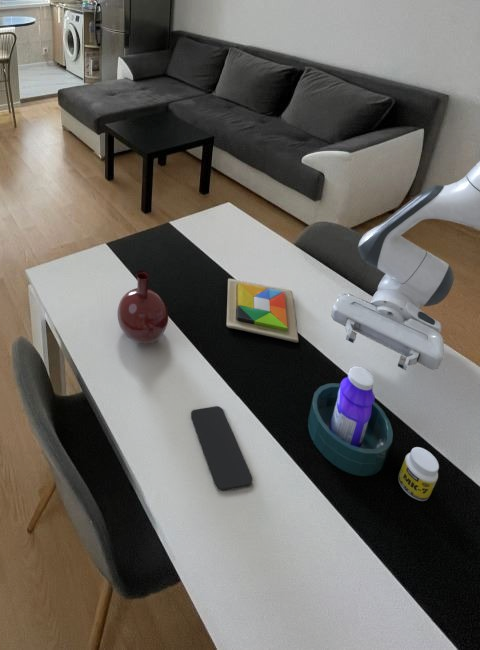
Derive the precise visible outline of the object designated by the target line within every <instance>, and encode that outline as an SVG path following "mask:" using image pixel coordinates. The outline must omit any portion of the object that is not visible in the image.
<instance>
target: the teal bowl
mask: <svg viewBox="0 0 480 650" xmlns="http://www.w3.org/2000/svg"><path fill="white" fill-rule="evenodd" d="M340 385H341V383H334V382H333V383H326V384H324V385H320V386H319V387H318V388H317V389H316V391H314V393H313V397H312V400H311V405H310V409H309V415H308V418H307V428H308V433H309V437H310V438H311V440H312V443H313V444H314V445H315V448H316V449H317V450H318V452H319V453H320V454H321V455H322V456H323V457H324V458H325V459H326V460H327V461H328V462H329V463H331V464H332V465H333V466H335V467H336V468H338V469H339V470H341V471H342V472H346V473H347V474H351V475H353V476H359V477H369V476H370V477H371V476H373V475H374V476H375V475H376V474H377V473H379V472H380V471H381V470H382V469H383V467H384V465H385V464H386V461H387V458H388V455H389V453H390V449H391V446H392V444H393V438H394V437H393V436H394V431H393V428H392V424H391V421H390V420H389V418H388V416H387V415H386V413H385V411H384V409H382V408H381V406H379V405H378V404H377V402H376V401H375V400H374V403H373V404H372V411H371V416H370V419H369V421H368V424H367V428H366V431H365V435H364V438H363V443H362V446H361V448H359V447H356V446H352V445H351V444H349V443H347V442H345V441H343V440H341V439H340V438H339V437H338V436H336V435H335V434H334V433H333V432H332V431H331V418H332V415H333V413H334V409H335V406H336V402H337V398H338V391H339V388H340Z"/></svg>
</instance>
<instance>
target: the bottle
mask: <svg viewBox="0 0 480 650" xmlns="http://www.w3.org/2000/svg"><path fill="white" fill-rule="evenodd" d="M340 384H341V385H340V388H339V391H338V398H337V402H336V406H335V409H334V413H333V415H332V418H331V431H332V432H333V433H334V434H335V435H336V436H338V437H339V438H340V439H341V440H343V441H345V442H347V443H349V444H351V445H352V446H356V447H359V448H361V446H362V443H363V438H364V435H365V431H366V428H367V424H368V421H369V419H370V416H371V411H372V404H373V403H374V401H375V399H376V398H375V394H374V392H373V388H374V384H375V379H374V376H373V375H372V373H370V371H368V370H367V369H366V368H364V367H361V366H352V367H350V368H349V370H348V373H347V377H344V378H343V379H342V380H341V381H340Z"/></svg>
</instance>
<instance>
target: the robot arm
mask: <svg viewBox="0 0 480 650" xmlns="http://www.w3.org/2000/svg"><path fill="white" fill-rule="evenodd" d="M425 220H441V221H447V222H451V223H456V224H460V225H463V226H466V227H470V228H475V229H480V160H479V161H478V162H477V163H476V164H475V165H474V166H473V167H472V168H471V169H470V170H469V171H468V172H467V174H466V175H465V176H464V177H462V178H461V179H460V180H458V181H455V182H453V183H450V184H445V185H441V184H434V185H431V186H429V187H428V188H426V189H424V190H423V191H422V192H419V194H417V195H416V196H415V197H413V198H412V199H410V200H408V202H406V203H405V204H404V205H402V206H401V207H400V208H399V209H397V210H396V211H395V212H394V213H393V214H391V215H390V216H388V217H387V218H386V219H385V220H384V221H382V222H381V223H379V224H377V225H375V226H374V227H373V228H371V229H369V230H368V231H366V232H365V233H364V234H363V235H362V237H361V238H360V239H359V241H358V245H357V250H358V254H359V255H360V257H361V260H362V261H363V263H365V264H367V265H369V266H371V267H373V268H374V269H376V270H379V271H380V272H382V273H383V274H384V275H383V277H382V278H381V280H380V282H379V284H378V286H377V290H376V291H375V293H374V294H373V295H372V297H371V300H370V302H369V301H367V300H364V299H363V298H359V297H357V296H355V295H354V294H351V293H348V294H347V293H340V294H339V295H338V297H337V298H336V302H335V303H334V304H333V306H332V309H331V314H330V316H331V319H332V320H333V321H334V322H336V323H338V324H339V325H341V326H344V327H345V328H344V329H345V332H346V337H345V340H346V341H348V342H349V343H352V344H354V343H355V341H356V338H357V335H358V334H359V335H361V336H364V337H366V338H368V339H369V340H372V341H373V342H376V343H378V344H379V345H381V346H383V347H386V348H387V349H390V350H392V351H394V352H396V353H397V354H399V355H400V357H399V360H398V363H397V367H398V368H400V369H402V370H404V371H407V369H408V367H409V366H414V365H416V364H420V365H421V366H423V367H426V368H427V369H429V370H432V371H436V370H440V367H441V364H442V361H443V357H444V353H445V352H444V351H445V345H444V344H445V342H444V338H443V336H442V335H441V333H442V323H440V322H439V321H438V320H436V319H435V318H433V317H432V316H430V315H428V313H425V312H424V311H423V310H422V309H421V308H422V307H431V306H435V305H438V304H439V303H441V302H442V301H443V300H444V299H445V298H446V297H447V296H448V295H449V293H450V292H451V289H452V287H453V285H454V281H455V275H454V271H453V269H452V266H451V265H450V264H449V263H447V262H446V261H445V260H443V259H441V258H440V257H438V256H436V255H435V254H433V253H431V252H430V251H428V250H425V249H424V248H422V247H420V246H419V245H417V244H415V243H413V242H412V241H410V240H408V239H406V238H405V237H403V236H402V235H403V234H405V233H406V232H408V231H409V230H411V228H413V227H414V226H416V225H417V224H419V223H420V222H422V221H425Z"/></svg>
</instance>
